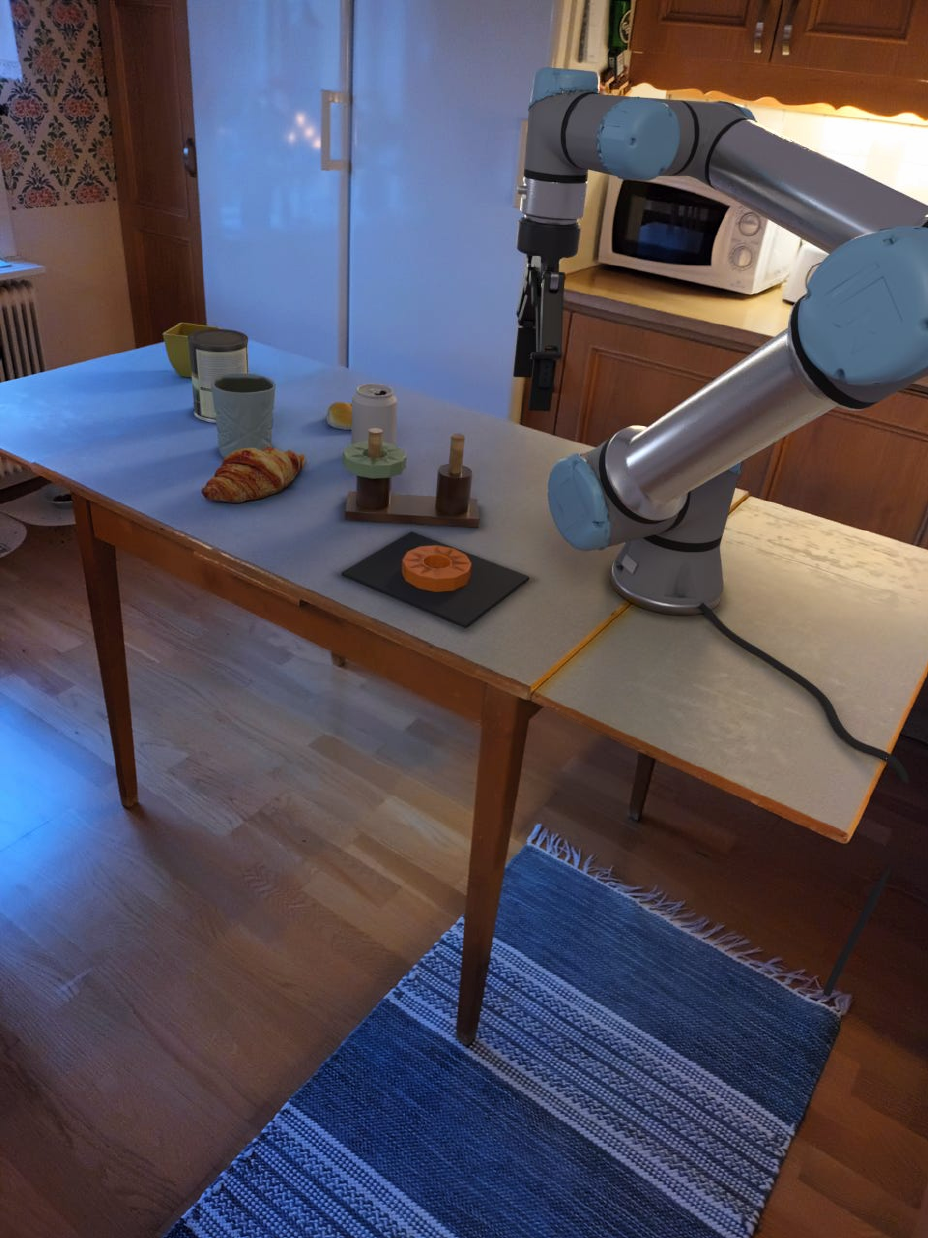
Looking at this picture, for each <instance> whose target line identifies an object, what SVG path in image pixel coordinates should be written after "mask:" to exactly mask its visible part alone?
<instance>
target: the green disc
mask: <svg viewBox="0 0 928 1238" xmlns="http://www.w3.org/2000/svg"><path fill="white" fill-rule="evenodd" d="M342 465H343V467H344V469H345V471H347V472H349V473H351V474H353V475H355V476H356V477H357V476H362V477H367V478H389V477H395V476H398V475H401V474H402V473H403V472H404V471H405V469H406V468H407V454H406V452H405V451H404V448H402V447H399V446H397V445H396V444H395V445H393V444H389V443H383V442H382V458H370V457H368V442H359V443H355V444H352V445H351V444H349V445H347V446H346V447H345V448H344V450H343V451H342Z"/></svg>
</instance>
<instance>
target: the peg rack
mask: <svg viewBox="0 0 928 1238" xmlns="http://www.w3.org/2000/svg"><path fill="white" fill-rule="evenodd" d="M465 440H466V436H465V435H464V434H462V433H452V434H451V435H450V447H449V459H448V463H447V464H443V465H440V466H439V467H438V468H437V476H436V488H435V496H433V495H418V494H417V495H416V494H400V493H398V494H397V493H392V477H393V476H392V477H389V478H367V477H362V476H357V475H356V482H355V485H356V486H355V487H356V488H355V490H356V491H352V490H351V491H349V490H348V492H347V497H346V503H345V509H344V521H357V522H369V523H371V522H373V523H390V524H406V525H424V526H437V527H438V526H439V527H454V528H455V527H458V528H473V529H479V528H480V527H479V526H480V513H479V512H480V511H479V503H478V499H477V498H471V492H472V481H473V470H472V468H470V467H468V466H466V465H463V463H464V453H465V452H464V451H465ZM368 457H370V458H382V430H381V429H379V428H371V429H369V436H368Z"/></svg>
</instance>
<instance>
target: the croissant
mask: <svg viewBox="0 0 928 1238" xmlns="http://www.w3.org/2000/svg"><path fill="white" fill-rule="evenodd" d="M306 463H307V458H306V455H305V454H303V453H301V454H299V453H297V452H295V451H292V450H291V449H287V450H285V451H283V450H279V449H278V448H276V447H273V446H271V447H266V448H264V449H263V450H262V451H261V450H259V449H256V448H244V449H239V450H236V451H233V452H232V453H231V454H230V455H228V456H227V457H225V458H223V459H222V462H221V465H220V467H218V468H217V469H216V470H215V471H214V475H213V477H211V478H210V479H209V480H208V481H206V484H205V486H204V487H203V488H201V494H202V496H203V497H204V499H206V500H210V501H214V502H227V503H237V504H238V503H244V502H246V501H247V502H248V501H254V500H261V499H263V498H267V497H268V496H270V495H274V494H277V493H279V492H281V491H283V490H284V489H286V488H287V487H288V486H289V485H290V483H291V482H292V481H293V480H294V479H295V478H296V477H297V475H298V473H301V472H302V470H303V469H305V466H306Z"/></svg>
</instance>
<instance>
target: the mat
mask: <svg viewBox="0 0 928 1238" xmlns="http://www.w3.org/2000/svg"><path fill="white" fill-rule="evenodd" d="M436 545H437V546H443V547H448V548H453V549H456V550H458V551H459V552H461V553H463V554H465V555H467V557H468V559H469V560H470V562H471V575H470V578H469V580H468V582H467V584H466V585H464V586H462V587H460V588H458V589H456V590H454V591H442V592H434V591H429V590H424V589H419V588H417V587H415V586H414V585H412V584H410V583H408V582H407V581H406V580H405V578H404V576H403V574H402V560H403V558H404V557H405V555H406V553H407V552H408V551H411V550H413V549H416V548H418V547H421V546H436ZM437 569H438V568H437ZM341 576H342V577H344V578H347V579H348V580H351V581H353V582H356V583H359V584H361V585H363V586H366V587H368V588H370V589H372V590H376V591H377V592H380V593H382V594H384V595H387V596H389V597H392V598H394V599H396V600H398V601H401V602H404V603H405V604H408V605H410V606H413V607H414V608H417V609H420V610H421V611H424V612H426V613H429V614H431V615H433V616H436V617H438V618H441V619H444V620H446V621H448V622H450V623H453V624H455V625H457V626H459V627H462V628H464V629H467V628H468V627H470V626H471V625H472V624H473V623H475V622H476V621H478V619H480V618H481V617H482V616H484V615H485V614H487V613H488V612H489V611H490V610H491V609H493V608H494V607H495V606H497V605H498V604H499V603H500V602H502V601H503V600H504V599H506V598H507V597H509V596H510V595H511V594H512V593H514V592H515V591H516V590H517V589H519V588H520V587H521V586H523V585H524V584H525V583H527V582H528V581H529V580H530V576H528V575H526V574H523V573H521V572H518V571H516V570H513V569H510V568H508V567H505V566H503V565H500V564H497V563H495V562H492V561H489V560H487V559H486V558H485V559H484V558H482V557H480V556H477V555H474V554H471V553H469V552H466V551H464V550H461V549H459V548H457V547H453V546H451V545H448V544H446V543H443V542H441V541H437V540H435V539H432V538H430V537H428V536H425V535H421V534H419V533H417V532H414V531H409V532H408V533H406V534H405V535H403V536H400V538H397V539H395V540H394V541H392V542H391V543H389V544H387V545H385V546H384V547H382V548H379V550H377V551H375V552H374V553H372V554H370V555H369V556H367V557H365V558H363V559H362V560H360V561H358V562H356V563H354V564H353V565H351V566H350V567H348V568H346V569H345V570H342V571H341Z"/></svg>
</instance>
